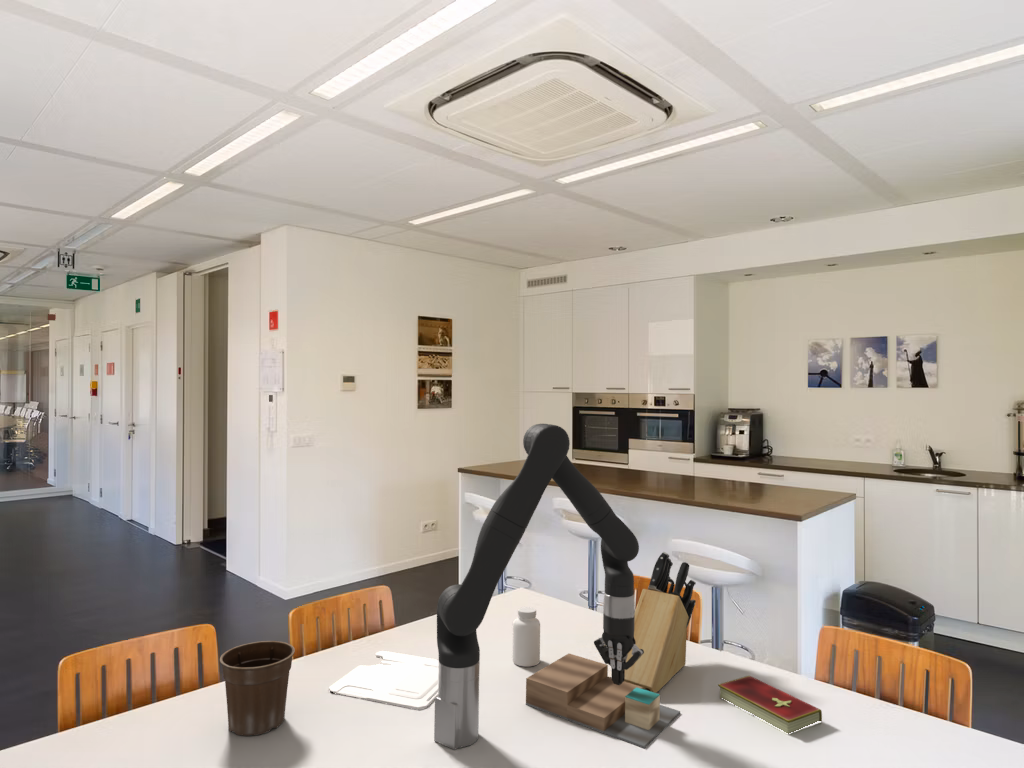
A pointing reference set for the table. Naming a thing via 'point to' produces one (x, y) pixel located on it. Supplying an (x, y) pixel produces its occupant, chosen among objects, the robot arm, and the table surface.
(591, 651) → the table surface
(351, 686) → the tray
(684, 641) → the knife block
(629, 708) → the maple cube
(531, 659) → the pill bottle
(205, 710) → the table surface
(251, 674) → the plant pot
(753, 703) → the hardcover book
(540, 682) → the walnut staircase
